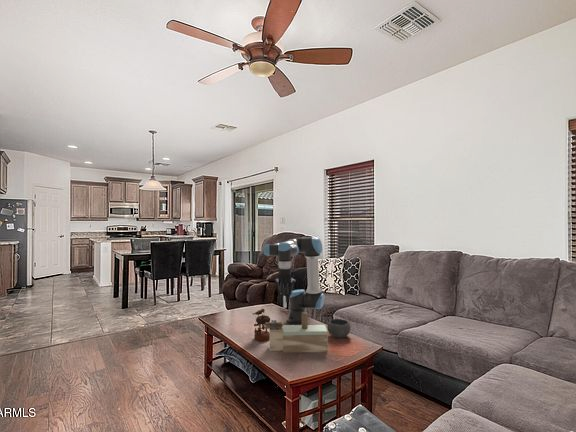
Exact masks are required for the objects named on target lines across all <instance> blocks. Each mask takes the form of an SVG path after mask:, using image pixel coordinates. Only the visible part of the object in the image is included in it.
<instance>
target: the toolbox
mask: <svg viewBox="0 0 576 432" xmlns="http://www.w3.org/2000/svg"><path fill="white" fill-rule="evenodd" d="M270 322H271V329H269V333H270V340H269V351H271V352H273V351H282V353H284V354H285V353H328V352H329V351H328V350H329V348H328V347H329V343H328V338H329V337H328V335H283V326H282V329H276V322H277V320H276V319H270Z"/></svg>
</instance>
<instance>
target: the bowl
mask: <svg viewBox="0 0 576 432" xmlns="http://www.w3.org/2000/svg"><path fill="white" fill-rule="evenodd" d="M327 331H328V334H330V335H331V336H332V337H334V338H337V339H341V338H346V337H347V336H348V335H349V334H350V332H351V324H350V322H349V321H348V320H346V319H342V318H334V319H330V320H329V321H328V323H327Z"/></svg>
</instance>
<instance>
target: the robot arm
mask: <svg viewBox="0 0 576 432" xmlns="http://www.w3.org/2000/svg"><path fill="white" fill-rule="evenodd" d="M262 250H263V255H264V256H265V257H266V256H269V257H278V276H277V278H275V279H274V280H273V282H274V283H275V286H276V290H277V295H278V296H280V297H281V302H282V305H283V306H282V307H283V309H287V305H288V304H287V303H288V302H289V311H288V315H287V321H288V323H292V324H302V312H306V309H314V310H321V309H322V308H323V306H324V303H325V294H324V293H323V292H322V291H323V290H322V289H321V288H320V272H319V270H320V269H319V257H320V256H321V254H322V252H323V243H322V241H321V239H320V238H319V237H313V236H311V237H295V238H290V239H288V240H287V241H282V242H278V243H273V244H272V243H267V244H265V245H264V247H263V249H262ZM298 254H303V256H304V258H305V259H306V271H307V272H306V273H307V274H306V275H307V276H306V277H307V278H306V279H307V289H306V290H305V289H294V290H293V288H294V284H295V282H296V279H294V278H293V276H292V269H291V267H292V257H296V256H297V255H298ZM279 282H280V283H279ZM289 283H291V284H290V288H289ZM280 286H281V287H280Z"/></svg>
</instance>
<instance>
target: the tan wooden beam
mask: <svg viewBox="0 0 576 432" xmlns="http://www.w3.org/2000/svg"><path fill="white" fill-rule="evenodd" d="M282 327H283V322H282V321H276V329H282ZM266 329H267V330H270V329H271V321H270V322H265V330H266Z"/></svg>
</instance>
